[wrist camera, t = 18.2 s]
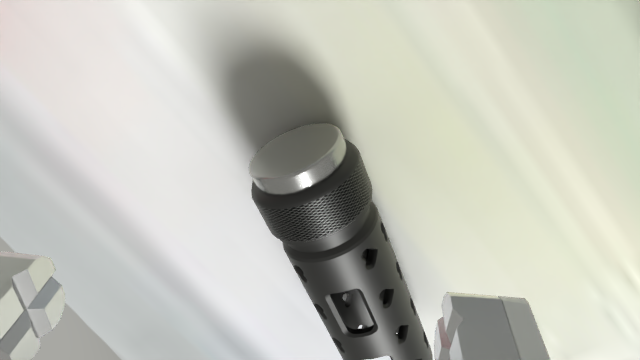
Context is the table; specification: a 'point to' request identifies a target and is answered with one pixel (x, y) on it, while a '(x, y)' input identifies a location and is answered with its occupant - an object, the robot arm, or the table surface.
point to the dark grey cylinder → (337, 242)
